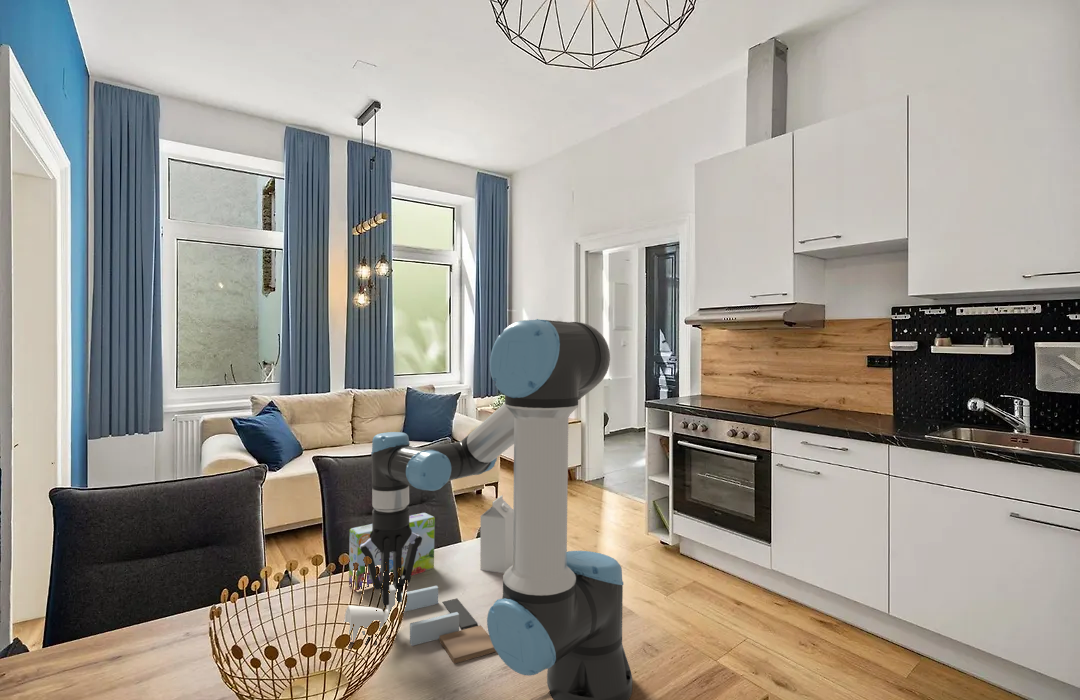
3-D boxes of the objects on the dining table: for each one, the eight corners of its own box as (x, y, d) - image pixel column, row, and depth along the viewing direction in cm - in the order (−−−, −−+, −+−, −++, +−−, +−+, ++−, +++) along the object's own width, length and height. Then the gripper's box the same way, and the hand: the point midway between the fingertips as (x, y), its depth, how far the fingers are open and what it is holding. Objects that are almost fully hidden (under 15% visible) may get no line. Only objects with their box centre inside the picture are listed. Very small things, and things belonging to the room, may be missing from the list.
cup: (388, 594, 115) (348, 597, 112) (395, 632, 107) (353, 636, 103) (381, 621, 117) (342, 624, 113) (388, 659, 109) (346, 664, 105)
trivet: (497, 651, 106) (497, 646, 106) (454, 663, 102) (454, 658, 102) (480, 629, 114) (480, 625, 114) (439, 640, 110) (439, 635, 110)
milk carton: (480, 572, 143) (480, 501, 143) (490, 562, 150) (490, 494, 150) (505, 575, 141) (505, 503, 141) (514, 565, 148) (514, 496, 148)
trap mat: (477, 625, 116) (477, 623, 116) (461, 629, 114) (461, 627, 114) (457, 600, 127) (457, 598, 127) (442, 603, 125) (442, 601, 125)
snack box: (357, 596, 129) (357, 533, 129) (348, 588, 133) (348, 527, 133) (435, 572, 143) (435, 515, 143) (424, 565, 148) (424, 510, 147)
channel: (459, 633, 112) (459, 614, 112) (411, 645, 108) (411, 626, 108) (436, 602, 126) (436, 585, 126) (393, 612, 121) (393, 594, 121)
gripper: (416, 498, 120) (417, 603, 120) (355, 506, 114) (356, 617, 114) (426, 507, 113) (426, 618, 113) (362, 516, 107) (362, 634, 107)
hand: (391, 618), depth 114 cm, fingers closed
